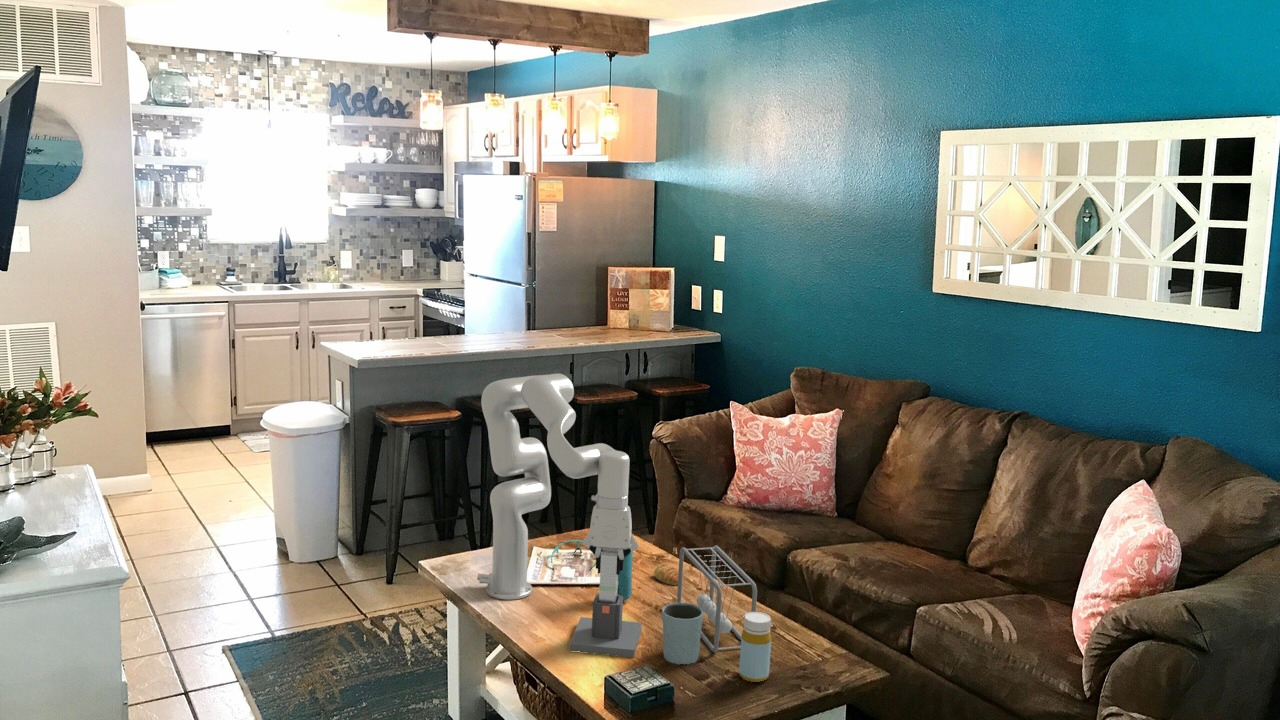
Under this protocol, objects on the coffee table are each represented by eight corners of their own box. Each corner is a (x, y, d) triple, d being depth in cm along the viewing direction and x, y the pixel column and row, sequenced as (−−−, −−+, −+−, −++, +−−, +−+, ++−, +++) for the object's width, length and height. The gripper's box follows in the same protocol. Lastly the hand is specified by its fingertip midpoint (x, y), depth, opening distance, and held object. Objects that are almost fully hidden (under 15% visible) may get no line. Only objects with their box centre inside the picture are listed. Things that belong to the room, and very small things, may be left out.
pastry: (689, 583, 304) (689, 571, 303) (670, 588, 300) (671, 576, 299) (669, 573, 311) (670, 560, 311) (651, 577, 308) (651, 565, 307)
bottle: (736, 669, 252) (740, 610, 249) (765, 669, 252) (769, 611, 250) (741, 683, 245) (745, 623, 242) (771, 683, 246) (775, 623, 243)
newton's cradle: (676, 606, 287) (679, 545, 284) (712, 604, 290) (715, 542, 287) (714, 655, 259) (718, 587, 256) (753, 652, 262) (758, 584, 259)
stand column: (598, 609, 261) (600, 551, 258) (600, 602, 265) (603, 545, 262) (615, 610, 260) (617, 553, 258) (617, 604, 265) (619, 547, 262)
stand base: (569, 651, 257) (570, 609, 255) (580, 624, 273) (581, 584, 271) (634, 657, 256) (636, 615, 254) (641, 629, 271) (643, 589, 269)
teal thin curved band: (601, 556, 322) (601, 541, 321) (594, 579, 308) (594, 563, 307) (556, 553, 324) (556, 538, 322) (547, 575, 309) (547, 560, 308)
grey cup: (687, 670, 251) (690, 622, 249) (651, 658, 256) (654, 611, 254) (708, 654, 259) (710, 608, 257) (672, 643, 264) (675, 598, 262)
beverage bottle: (632, 597, 292) (635, 528, 288) (630, 607, 285) (633, 536, 282) (609, 595, 292) (612, 526, 289) (606, 605, 286) (609, 534, 282)
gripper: (576, 503, 255) (573, 574, 258) (644, 509, 253) (641, 580, 257) (581, 494, 262) (578, 563, 266) (647, 499, 261) (644, 569, 264)
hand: (609, 571), depth 261 cm, fingers closed on stand column, 4 cm apart
